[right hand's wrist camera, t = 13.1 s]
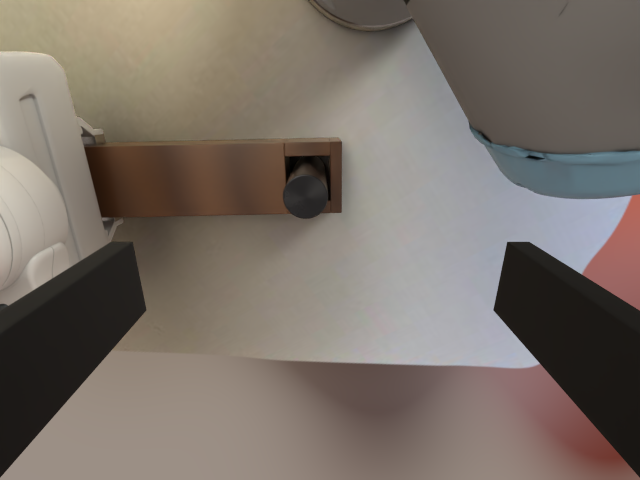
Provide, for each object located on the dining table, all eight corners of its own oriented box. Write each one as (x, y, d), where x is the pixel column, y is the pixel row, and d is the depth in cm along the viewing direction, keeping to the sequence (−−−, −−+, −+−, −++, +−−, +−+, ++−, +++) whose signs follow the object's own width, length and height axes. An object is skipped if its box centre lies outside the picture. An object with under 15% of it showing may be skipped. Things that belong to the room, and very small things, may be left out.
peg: (293, 155, 35) (281, 174, 24) (324, 154, 35) (327, 173, 24) (294, 186, 36) (284, 219, 25) (325, 185, 36) (328, 218, 25)
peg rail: (95, 205, 37) (62, 218, 32) (79, 143, 35) (41, 147, 30) (338, 200, 37) (341, 212, 32) (338, 137, 34) (341, 141, 30)
